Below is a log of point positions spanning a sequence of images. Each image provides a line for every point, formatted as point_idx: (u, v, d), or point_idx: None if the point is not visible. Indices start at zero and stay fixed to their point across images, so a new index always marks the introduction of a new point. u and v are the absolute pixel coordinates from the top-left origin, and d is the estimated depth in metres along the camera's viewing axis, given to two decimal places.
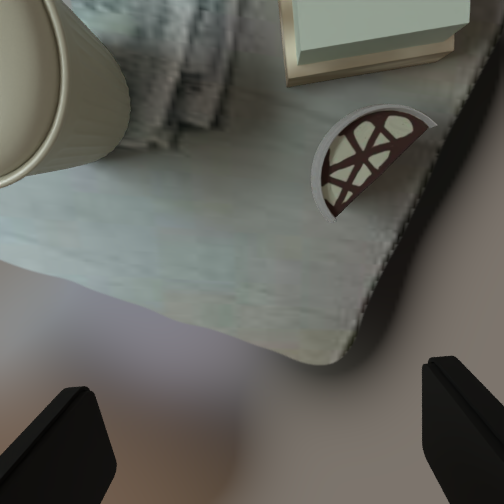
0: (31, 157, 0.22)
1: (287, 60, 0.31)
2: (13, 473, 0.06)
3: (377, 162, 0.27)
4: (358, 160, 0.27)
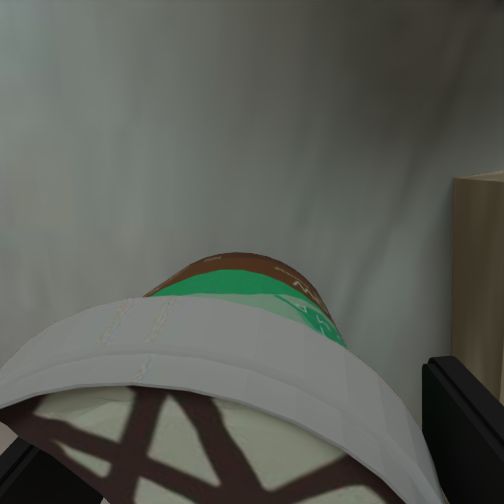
0: None
1: None
2: (13, 473, 0.06)
3: None
4: (237, 498, 0.06)
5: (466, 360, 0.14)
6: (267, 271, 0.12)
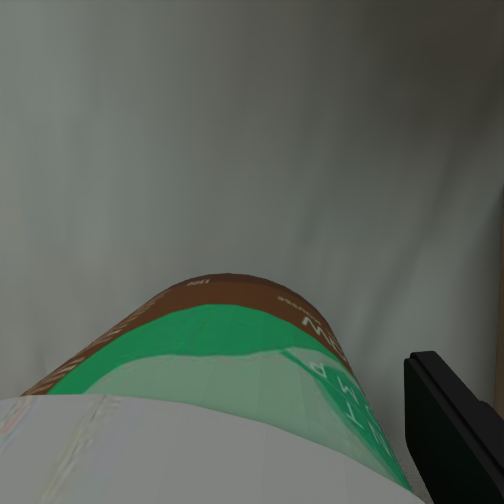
0: None
1: None
2: None
3: None
4: None
5: None
6: (268, 305, 0.09)
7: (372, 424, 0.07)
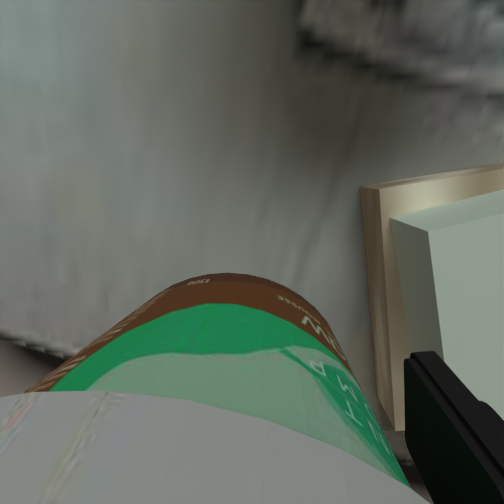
0: None
1: (410, 185, 0.16)
2: None
3: None
4: None
5: (375, 306, 0.21)
6: (268, 304, 0.09)
7: (371, 422, 0.07)
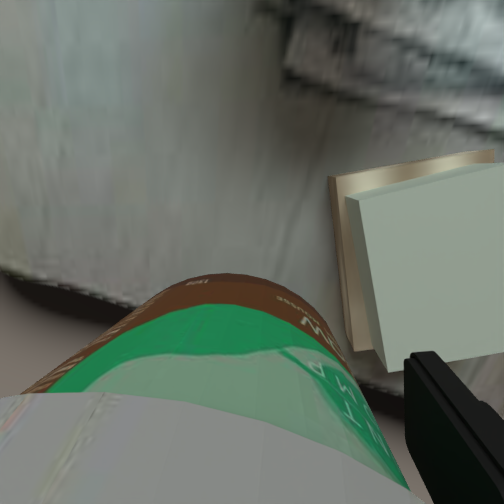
0: None
1: (356, 174, 0.25)
2: None
3: None
4: None
5: (340, 262, 0.29)
6: (267, 305, 0.09)
7: (370, 423, 0.07)
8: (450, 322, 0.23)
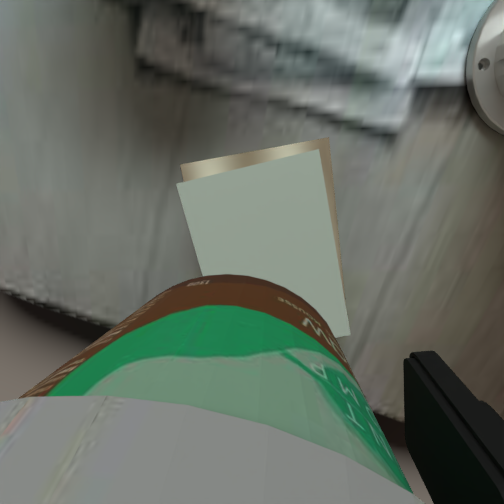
0: None
1: (200, 162, 0.25)
2: None
3: None
4: None
5: None
6: (269, 306, 0.09)
7: (373, 425, 0.07)
8: None
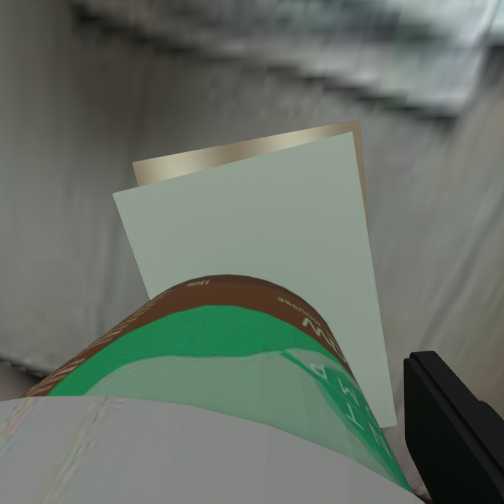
0: None
1: (162, 158, 0.16)
2: None
3: None
4: None
5: None
6: (269, 306, 0.09)
7: (372, 425, 0.07)
8: None
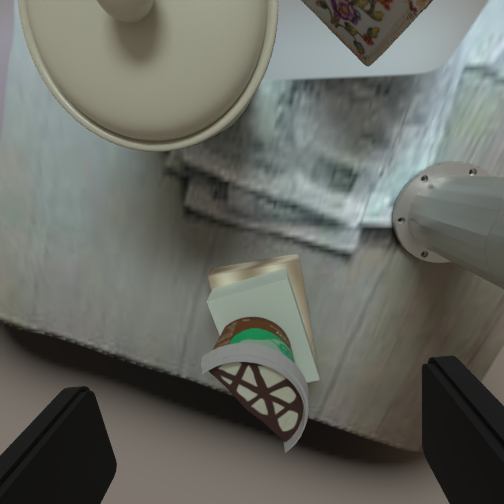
0: (66, 98, 0.23)
1: (220, 274, 0.40)
2: (13, 473, 0.06)
3: (257, 405, 0.29)
4: (260, 389, 0.28)
5: None
6: (267, 328, 0.34)
7: (289, 355, 0.32)
8: None
